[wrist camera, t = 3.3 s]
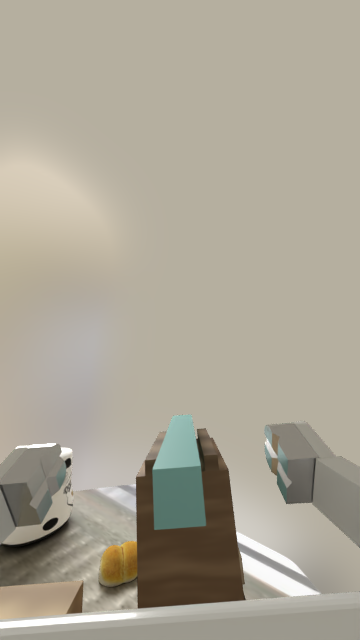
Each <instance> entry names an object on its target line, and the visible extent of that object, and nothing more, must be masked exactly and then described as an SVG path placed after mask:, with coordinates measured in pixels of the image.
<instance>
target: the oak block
mask: <svg viewBox="0 0 360 640" xmlns="http://www.w3.org/2000/svg"><path fill="white" fill-rule="evenodd" d="M82 600H83V580H82V581H69V582H56V583H43V584H30V585H17V586H4V587H0V619H12V618H25V617H37V616H50V615H63V614H75V613H82Z"/></svg>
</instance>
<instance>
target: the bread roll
mask: <svg viewBox="0 0 360 640" xmlns="http://www.w3.org/2000/svg"><path fill="white" fill-rule="evenodd" d="M136 577H137V542H134V541H130V542H129V541H128V542H125V543H124V544H122V545H121V546H117V545H113V546H110V547H109V548H107V549H106V551H105V552H104V553H103V556H102V558H101V562H100V569H99V582H100V583H101V584H102V585H104V586H108V587H114V586H118V585H120V584H122V583H128V582H130V581H132V580H134V579H135V578H136Z"/></svg>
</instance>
